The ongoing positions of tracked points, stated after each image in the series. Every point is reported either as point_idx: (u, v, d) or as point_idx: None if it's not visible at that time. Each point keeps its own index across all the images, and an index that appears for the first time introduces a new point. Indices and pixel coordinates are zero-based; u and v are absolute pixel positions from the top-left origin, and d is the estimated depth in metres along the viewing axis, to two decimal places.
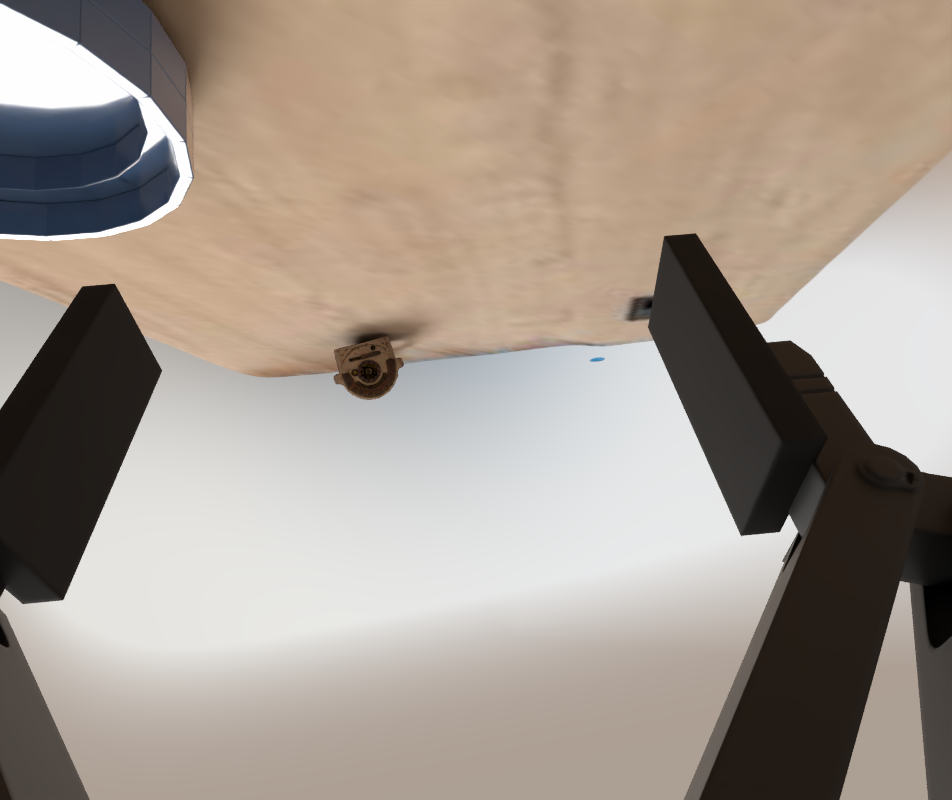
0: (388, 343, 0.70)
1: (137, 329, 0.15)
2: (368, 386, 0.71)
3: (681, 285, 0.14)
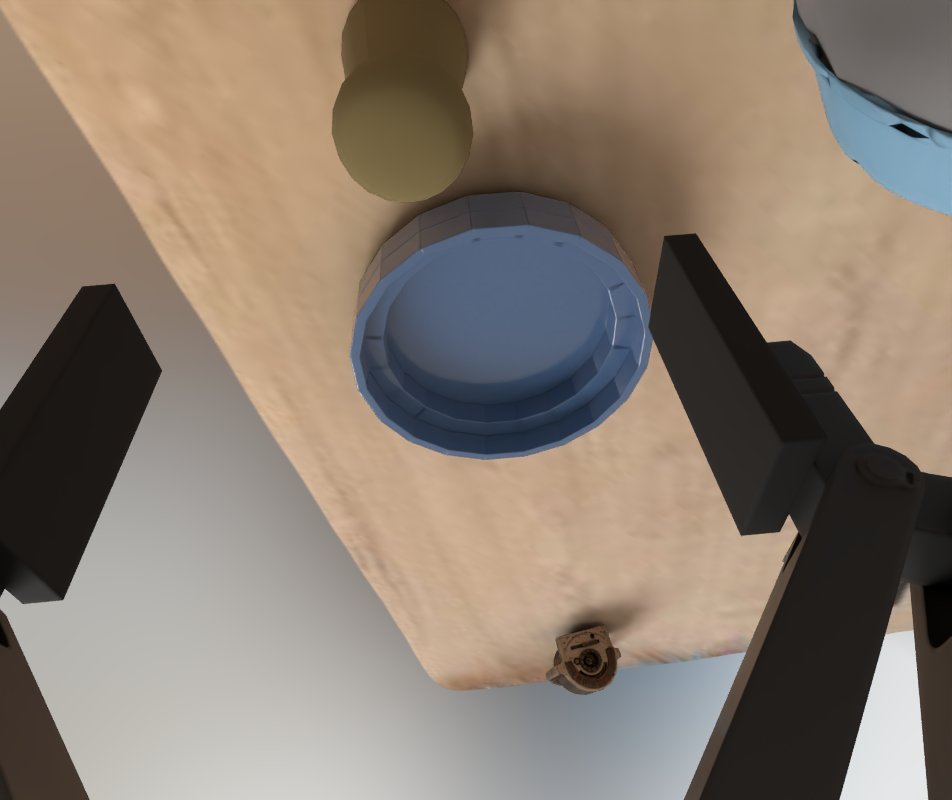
0: (606, 632, 0.73)
1: (137, 329, 0.15)
2: (589, 677, 0.70)
3: (681, 285, 0.14)
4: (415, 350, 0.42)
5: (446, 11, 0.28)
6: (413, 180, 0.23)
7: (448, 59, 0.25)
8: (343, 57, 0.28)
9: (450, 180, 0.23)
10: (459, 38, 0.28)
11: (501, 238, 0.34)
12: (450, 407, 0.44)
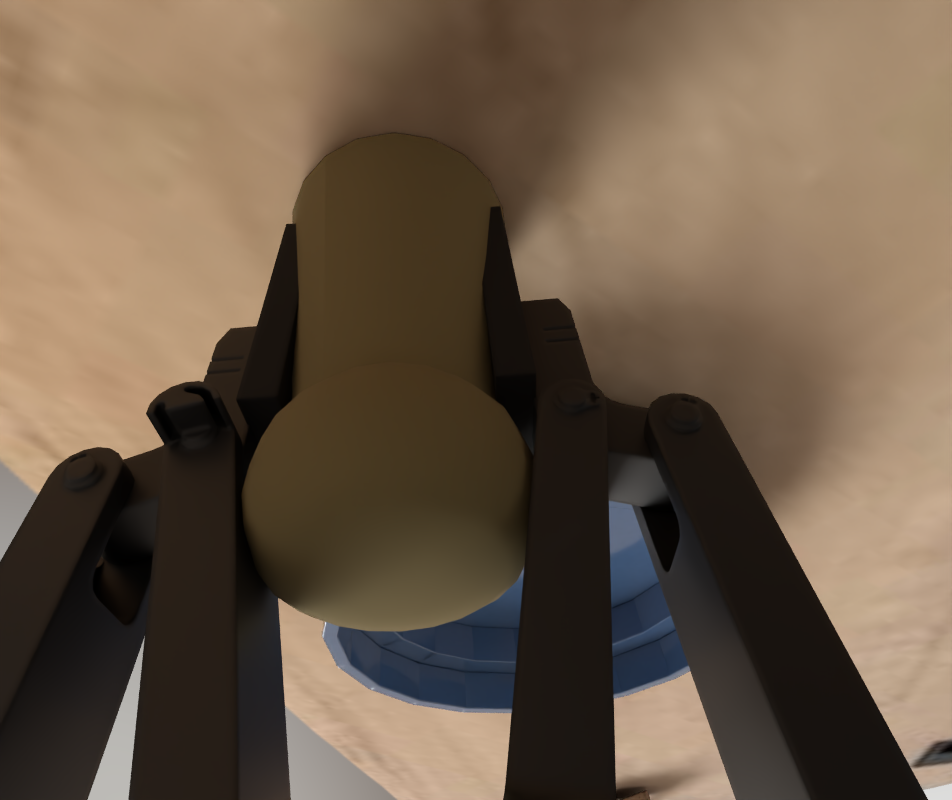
0: None
1: None
2: None
3: None
4: None
5: (472, 185, 0.16)
6: (417, 621, 0.11)
7: (482, 313, 0.13)
8: None
9: (493, 599, 0.11)
10: None
11: None
12: (467, 641, 0.32)
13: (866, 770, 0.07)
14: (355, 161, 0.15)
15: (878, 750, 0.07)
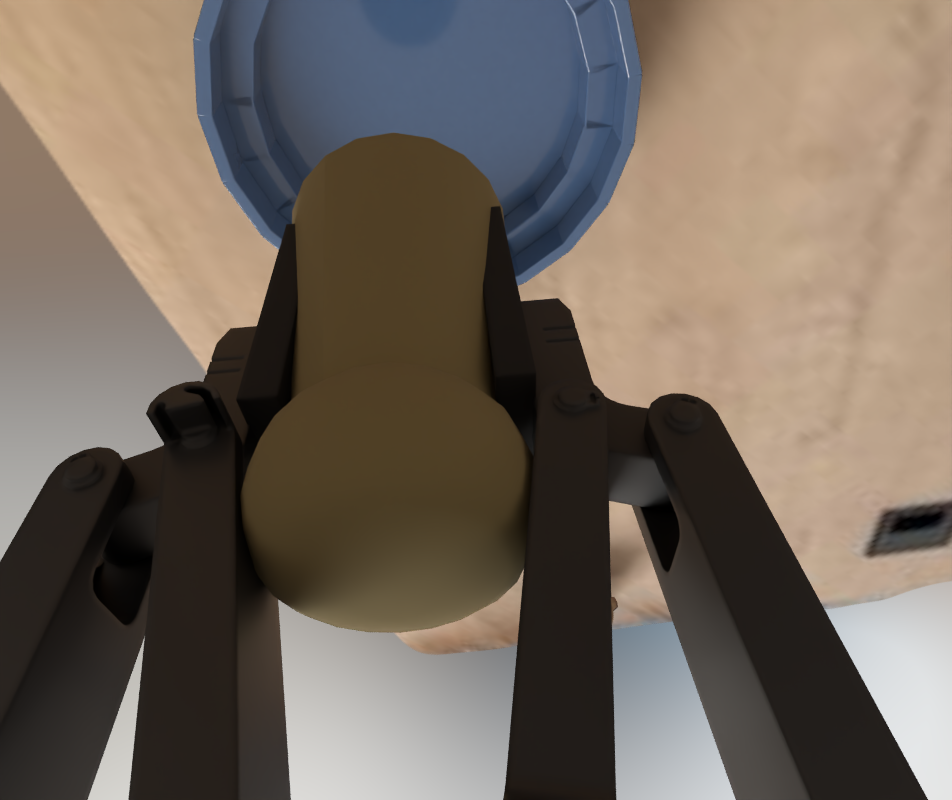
0: None
1: None
2: None
3: None
4: (314, 143, 0.30)
5: (472, 184, 0.16)
6: (417, 622, 0.11)
7: (482, 313, 0.13)
8: None
9: None
10: None
11: None
12: None
13: (866, 770, 0.07)
14: (355, 161, 0.15)
15: (879, 750, 0.07)
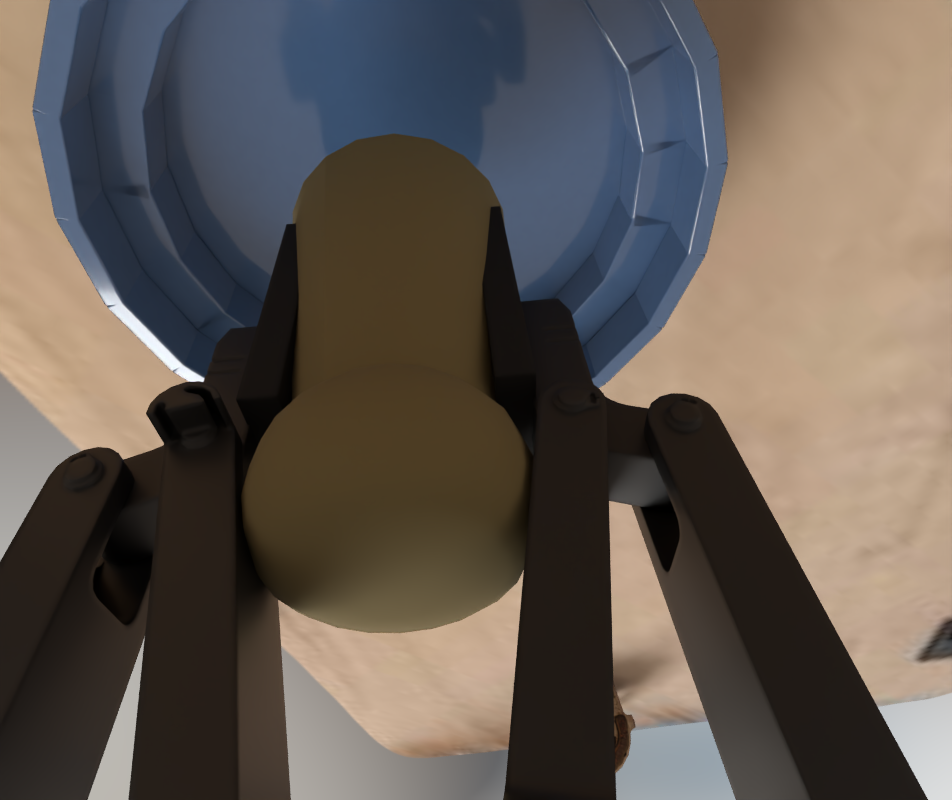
0: (614, 692, 0.53)
1: None
2: None
3: None
4: (249, 236, 0.21)
5: (472, 185, 0.16)
6: (417, 623, 0.11)
7: (483, 313, 0.13)
8: None
9: (493, 601, 0.11)
10: None
11: None
12: None
13: (866, 770, 0.07)
14: (355, 162, 0.15)
15: (879, 750, 0.07)
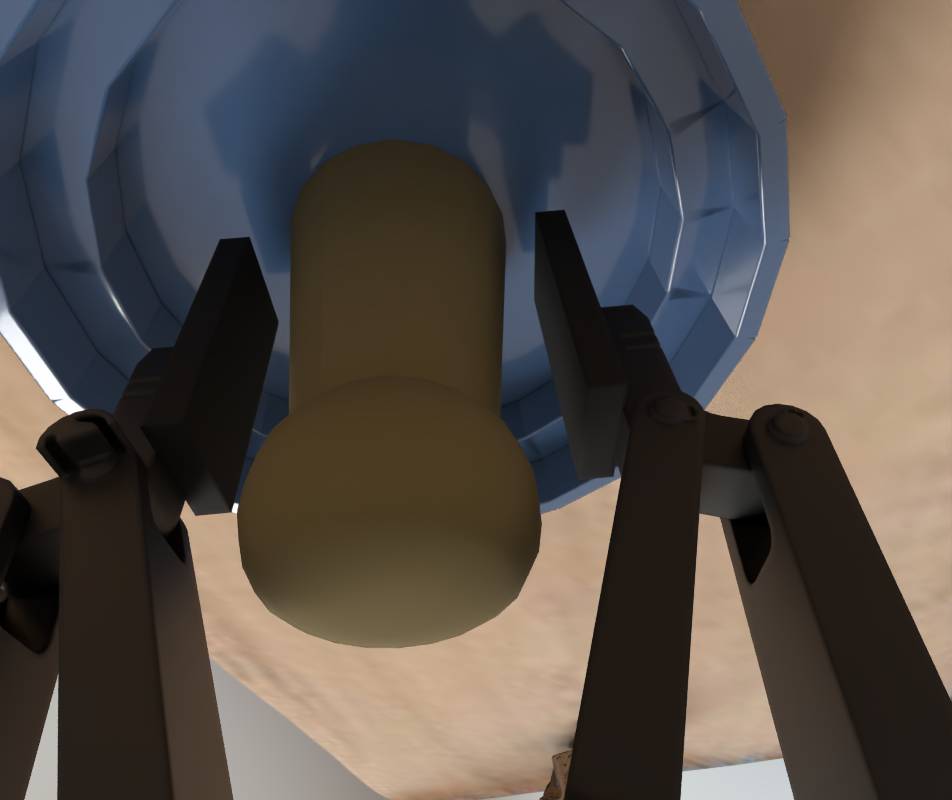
0: None
1: (263, 281, 0.17)
2: None
3: (544, 256, 0.15)
4: None
5: (472, 192, 0.16)
6: (415, 638, 0.11)
7: (482, 323, 0.13)
8: None
9: (493, 616, 0.11)
10: (495, 238, 0.16)
11: None
12: None
13: None
14: (354, 168, 0.15)
15: None
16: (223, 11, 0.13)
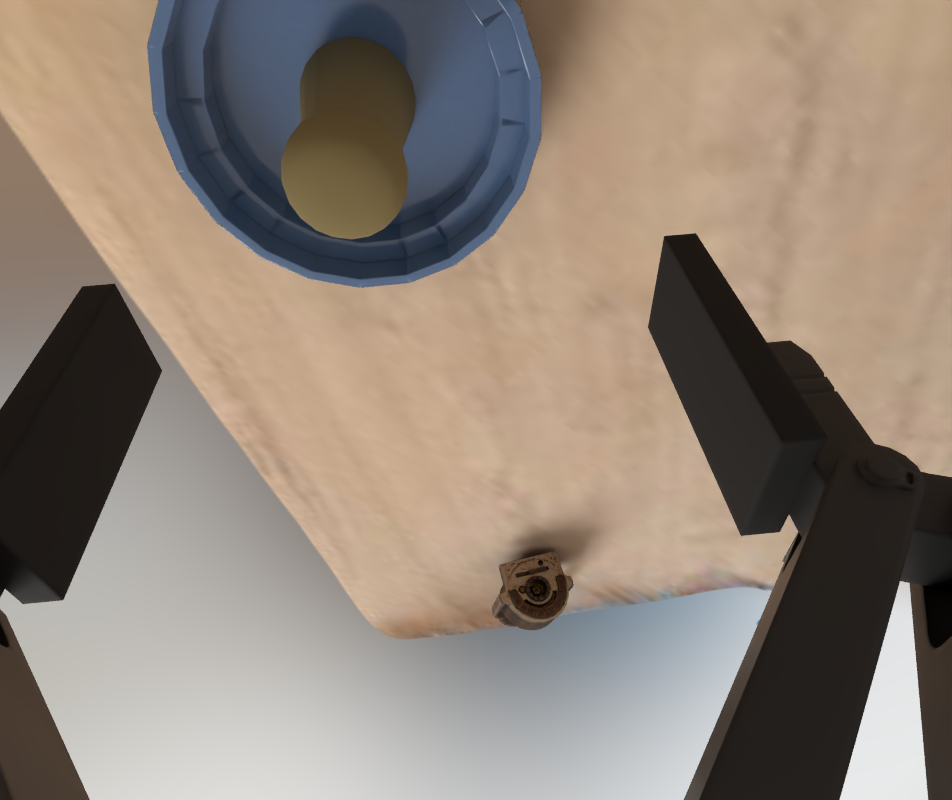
0: (556, 558, 0.64)
1: (137, 329, 0.15)
2: (536, 607, 0.62)
3: (681, 285, 0.14)
4: (262, 139, 0.34)
5: (392, 62, 0.31)
6: (354, 221, 0.26)
7: (389, 109, 0.28)
8: None
9: (389, 219, 0.26)
10: (404, 86, 0.31)
11: None
12: None
13: None
14: (331, 48, 0.30)
15: None
16: None
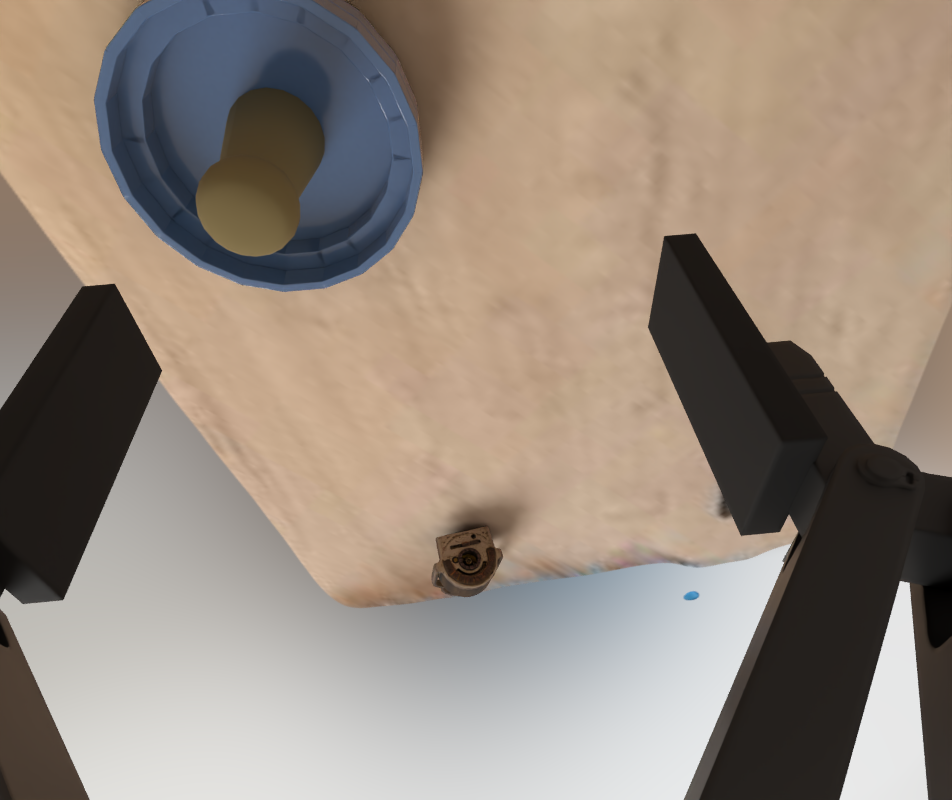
0: (488, 532, 0.72)
1: (137, 329, 0.15)
2: (468, 576, 0.69)
3: (681, 285, 0.14)
4: (198, 168, 0.40)
5: (299, 109, 0.37)
6: (255, 243, 0.33)
7: (290, 151, 0.35)
8: None
9: (284, 241, 0.33)
10: (310, 129, 0.38)
11: (237, 11, 0.33)
12: None
13: None
14: (248, 98, 0.37)
15: None
16: (194, 35, 0.35)
